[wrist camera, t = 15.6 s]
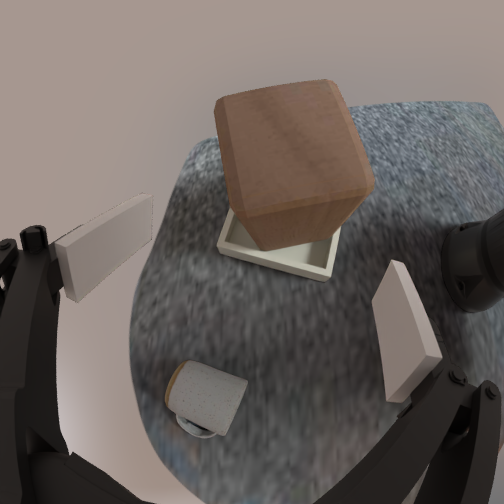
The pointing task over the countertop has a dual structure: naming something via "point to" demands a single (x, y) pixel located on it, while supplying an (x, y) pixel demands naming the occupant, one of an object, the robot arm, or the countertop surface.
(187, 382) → the ceramic mug
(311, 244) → the sage tray
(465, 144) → the countertop surface
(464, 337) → the countertop surface
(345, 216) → the wooden block
